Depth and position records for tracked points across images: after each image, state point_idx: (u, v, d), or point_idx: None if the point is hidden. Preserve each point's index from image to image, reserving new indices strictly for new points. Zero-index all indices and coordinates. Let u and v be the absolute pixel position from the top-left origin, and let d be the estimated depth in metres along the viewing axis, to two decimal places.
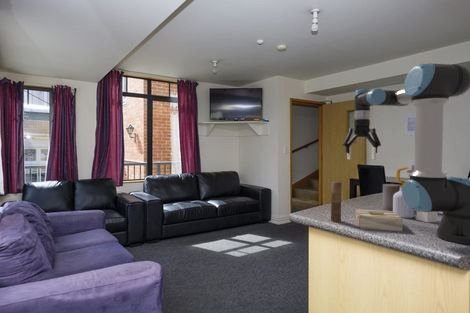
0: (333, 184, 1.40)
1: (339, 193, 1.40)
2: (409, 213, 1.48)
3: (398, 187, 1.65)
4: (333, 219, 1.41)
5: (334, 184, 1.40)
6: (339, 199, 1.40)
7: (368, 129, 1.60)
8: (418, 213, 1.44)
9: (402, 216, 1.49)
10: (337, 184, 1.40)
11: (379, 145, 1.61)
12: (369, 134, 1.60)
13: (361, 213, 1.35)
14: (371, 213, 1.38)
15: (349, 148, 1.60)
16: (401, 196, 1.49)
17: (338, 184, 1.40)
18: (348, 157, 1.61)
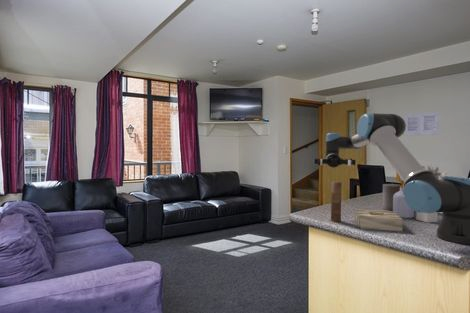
0: (333, 184, 1.40)
1: (339, 193, 1.40)
2: (409, 213, 1.48)
3: (398, 187, 1.65)
4: (333, 219, 1.41)
5: (334, 184, 1.40)
6: (339, 199, 1.40)
7: None
8: (418, 213, 1.44)
9: (402, 216, 1.49)
10: (337, 184, 1.40)
11: (353, 160, 1.55)
12: (340, 158, 1.62)
13: (361, 213, 1.35)
14: (371, 213, 1.38)
15: (320, 159, 1.58)
16: (401, 196, 1.49)
17: (338, 184, 1.40)
18: (320, 162, 1.53)
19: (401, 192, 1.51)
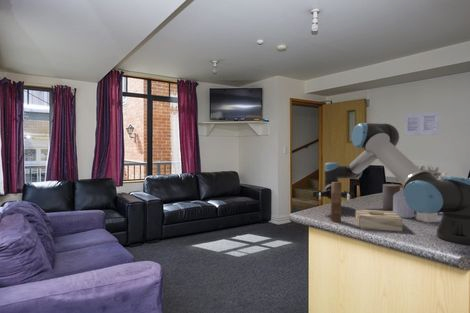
0: (333, 184, 1.40)
1: (339, 193, 1.40)
2: (409, 213, 1.48)
3: (398, 187, 1.65)
4: (333, 219, 1.41)
5: (334, 184, 1.40)
6: (339, 199, 1.40)
7: None
8: (418, 213, 1.44)
9: (402, 216, 1.49)
10: (337, 184, 1.40)
11: (352, 193, 1.53)
12: None
13: (361, 213, 1.35)
14: (371, 213, 1.38)
15: (319, 193, 1.56)
16: (401, 196, 1.49)
17: (338, 184, 1.40)
18: (319, 196, 1.51)
19: (401, 192, 1.51)
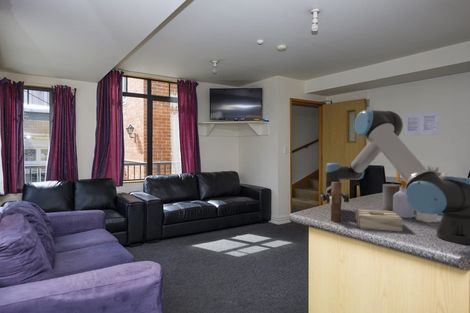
0: (333, 184, 1.40)
1: (339, 193, 1.40)
2: (409, 213, 1.48)
3: (398, 187, 1.65)
4: (333, 219, 1.41)
5: (334, 184, 1.40)
6: (339, 199, 1.40)
7: (341, 193, 1.53)
8: (418, 213, 1.44)
9: (402, 216, 1.49)
10: (337, 184, 1.40)
11: (346, 196, 1.43)
12: None
13: (361, 213, 1.35)
14: (371, 213, 1.38)
15: (329, 196, 1.43)
16: (401, 196, 1.49)
17: (338, 184, 1.40)
18: (330, 200, 1.38)
19: (401, 192, 1.51)
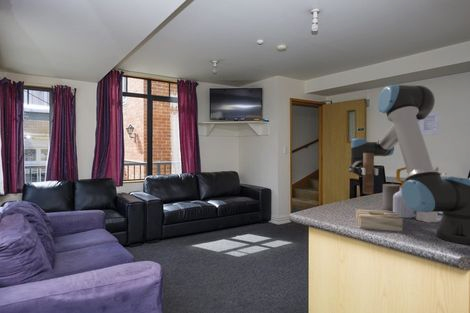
0: (365, 155, 1.35)
1: (372, 164, 1.34)
2: (409, 213, 1.48)
3: (398, 187, 1.65)
4: (366, 191, 1.35)
5: (367, 154, 1.34)
6: (372, 170, 1.34)
7: None
8: (418, 213, 1.44)
9: (402, 216, 1.49)
10: (370, 154, 1.34)
11: (378, 168, 1.37)
12: None
13: (361, 213, 1.35)
14: (371, 213, 1.38)
15: (361, 168, 1.37)
16: (401, 196, 1.49)
17: (371, 154, 1.34)
18: (363, 171, 1.33)
19: None
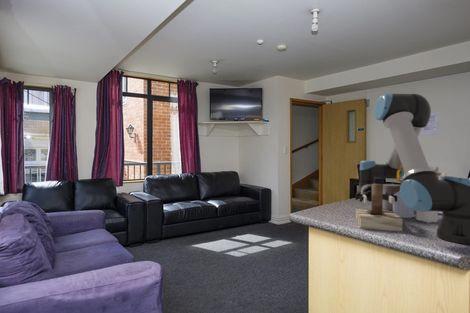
0: (374, 186, 1.34)
1: (381, 195, 1.33)
2: (409, 213, 1.48)
3: (398, 187, 1.65)
4: None
5: (375, 186, 1.33)
6: (381, 202, 1.33)
7: None
8: (418, 213, 1.44)
9: (402, 216, 1.49)
10: (379, 185, 1.33)
11: (395, 196, 1.36)
12: None
13: (361, 213, 1.35)
14: (371, 213, 1.38)
15: (362, 195, 1.37)
16: None
17: (379, 186, 1.33)
18: (364, 199, 1.33)
19: None
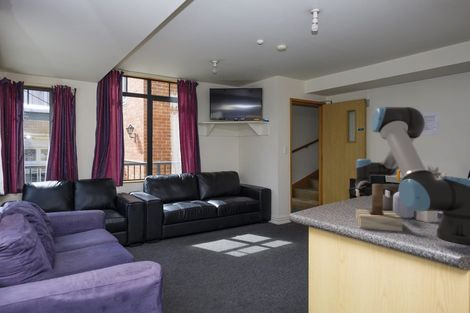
0: (375, 186, 1.33)
1: (381, 196, 1.33)
2: (409, 213, 1.48)
3: (398, 187, 1.65)
4: None
5: (376, 186, 1.33)
6: (381, 202, 1.33)
7: None
8: (418, 213, 1.44)
9: (402, 216, 1.49)
10: (379, 186, 1.32)
11: (391, 190, 1.49)
12: None
13: (361, 213, 1.35)
14: (371, 213, 1.38)
15: (355, 189, 1.51)
16: None
17: (380, 186, 1.32)
18: (356, 193, 1.47)
19: None
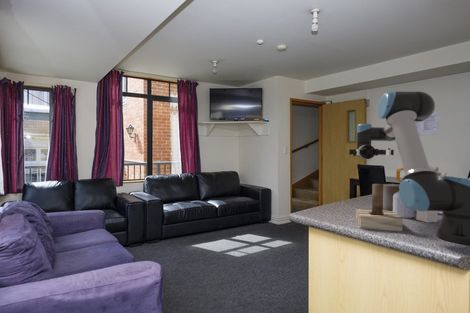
0: (375, 186, 1.33)
1: (381, 196, 1.33)
2: (409, 213, 1.48)
3: (398, 187, 1.65)
4: None
5: (376, 186, 1.33)
6: (381, 202, 1.33)
7: None
8: (418, 213, 1.44)
9: (402, 216, 1.49)
10: (379, 186, 1.32)
11: None
12: None
13: (361, 213, 1.35)
14: (371, 213, 1.38)
15: (356, 150, 1.51)
16: None
17: (380, 186, 1.32)
18: (357, 152, 1.46)
19: None
